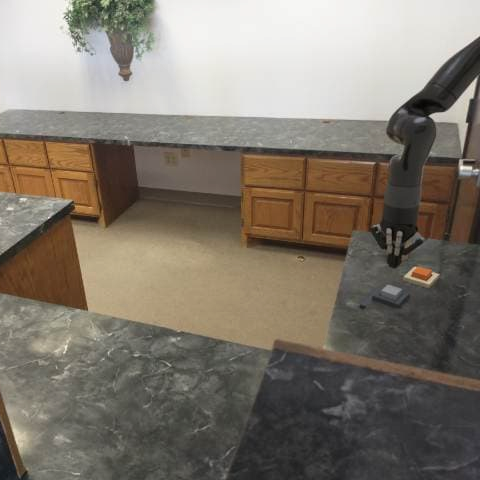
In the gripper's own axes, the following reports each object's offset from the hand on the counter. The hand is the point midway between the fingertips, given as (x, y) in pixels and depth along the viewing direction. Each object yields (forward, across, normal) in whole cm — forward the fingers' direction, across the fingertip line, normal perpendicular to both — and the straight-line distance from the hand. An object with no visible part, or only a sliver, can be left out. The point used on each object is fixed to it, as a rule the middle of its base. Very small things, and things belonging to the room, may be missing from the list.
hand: (393, 266), depth 124 cm
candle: (+11, +9, -24) cm, 28 cm away
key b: (+8, 0, 0) cm, 8 cm away
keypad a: (+11, -2, -13) cm, 17 cm away
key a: (+8, -2, -13) cm, 16 cm away
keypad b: (+11, 0, 0) cm, 11 cm away
